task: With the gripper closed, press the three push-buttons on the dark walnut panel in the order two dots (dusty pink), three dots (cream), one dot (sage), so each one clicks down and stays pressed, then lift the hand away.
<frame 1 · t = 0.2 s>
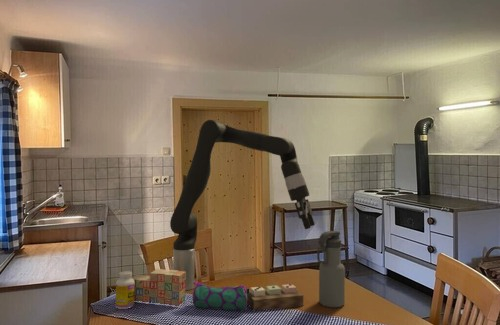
hand: (310, 227, 144), 30 cm above the table, tool tilted 20°, fingers open, 8 cm apart
button two dots: (288, 288, 150), point 5 cm above the table, slide at 0.0 cm
stack of blocks: (157, 303, 147), on the table
supplement bottle: (124, 307, 142), on the table
pencil case: (220, 309, 141), on the table
water bottle: (331, 304, 147), on the table
button one dot: (273, 290, 148), point 5 cm above the table, slide at 0.0 cm
button three dots: (257, 291, 146), point 5 cm above the table, slide at 0.0 cm
button panel: (273, 302, 148), on the table
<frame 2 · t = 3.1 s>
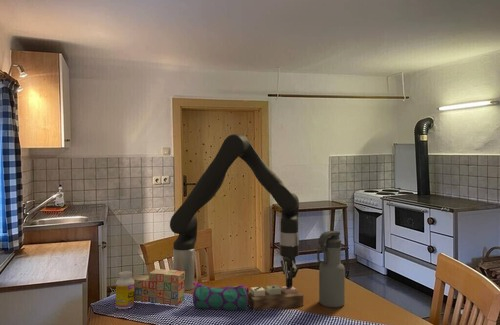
hand: (289, 287, 150), 6 cm above the table, tool pointing down, fingers closed
button two dots: (288, 290, 150), point 4 cm above the table, slide at 0.7 cm, touching gripper
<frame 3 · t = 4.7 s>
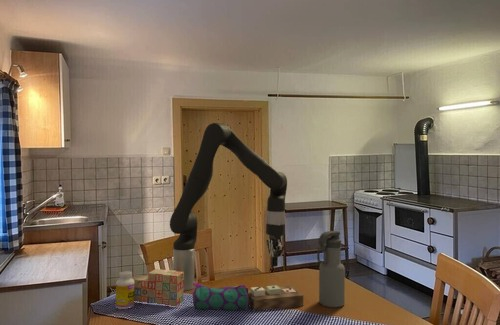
hand: (274, 266, 149), 14 cm above the table, tool pointing down, fingers closed
button two dots: (288, 293, 150), point 3 cm above the table, slide at 1.6 cm
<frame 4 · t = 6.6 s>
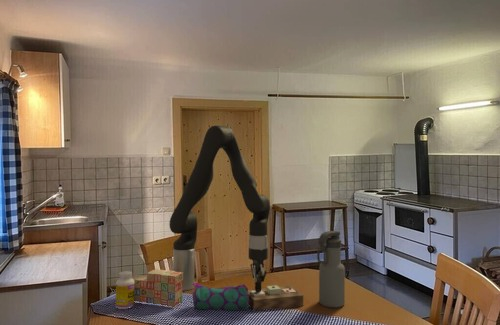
hand: (258, 291, 146), 5 cm above the table, tool pointing down, fingers closed
button three dots: (257, 295, 146), point 4 cm above the table, slide at 1.3 cm, touching gripper
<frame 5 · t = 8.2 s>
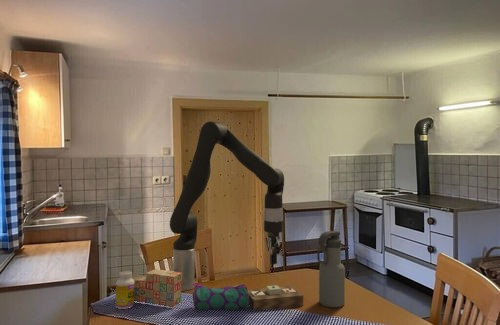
hand: (273, 263, 148), 15 cm above the table, tool pointing down, fingers closed
button three dots: (257, 295, 146), point 3 cm above the table, slide at 1.6 cm
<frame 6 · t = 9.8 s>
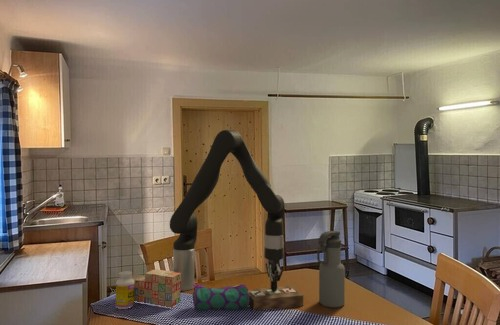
hand: (273, 290, 148), 5 cm above the table, tool pointing down, fingers closed
button one dot: (273, 294, 148), point 3 cm above the table, slide at 1.5 cm, touching gripper
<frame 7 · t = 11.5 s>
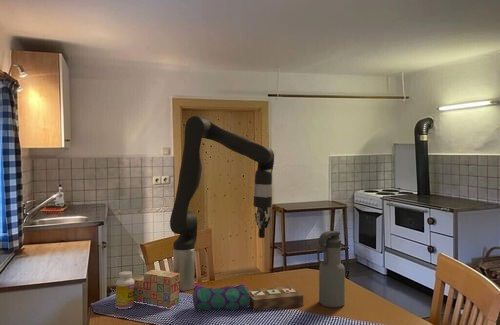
hand: (261, 237, 154), 24 cm above the table, tool pointing down, fingers closed
button one dot: (273, 294, 148), point 3 cm above the table, slide at 1.6 cm
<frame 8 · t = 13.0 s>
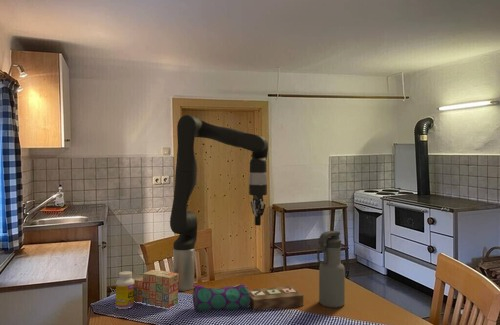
hand: (257, 225, 157), 29 cm above the table, tool pointing down, fingers closed
at the end: button two dots slide at 1.6 cm; button three dots slide at 1.6 cm; button one dot slide at 1.6 cm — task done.
